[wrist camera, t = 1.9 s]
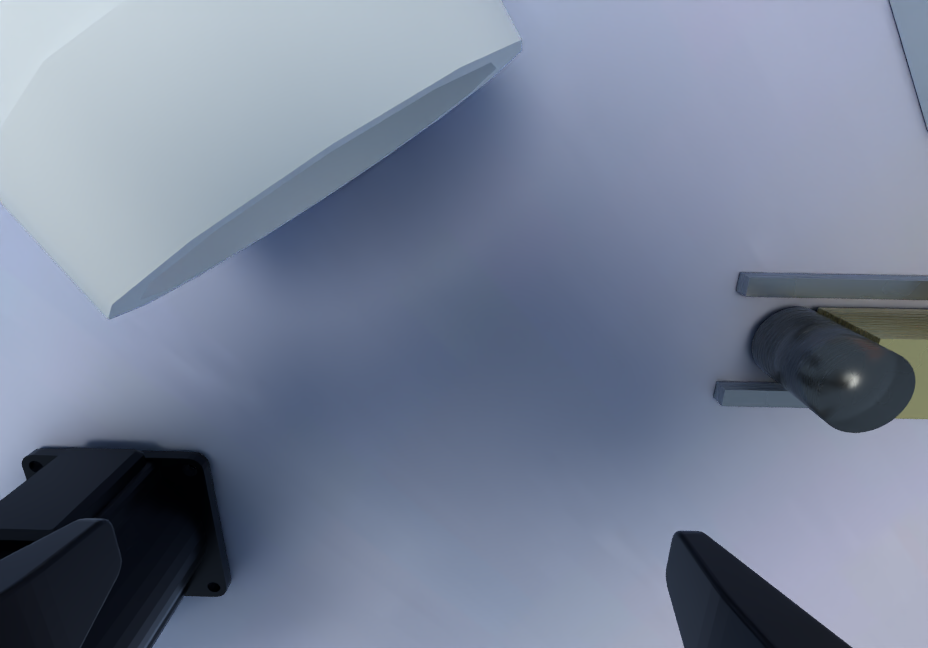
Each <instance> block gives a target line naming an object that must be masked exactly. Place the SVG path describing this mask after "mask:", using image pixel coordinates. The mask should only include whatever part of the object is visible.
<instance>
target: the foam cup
mask: <svg viewBox="0 0 928 648" xmlns="http://www.w3.org/2000/svg"><path fill="white" fill-rule="evenodd" d="M521 51H522V39H521V37H520V36H519V34H518V32H517V30H516V28H515V26H514V24H513V22H512V20H511V18H510V16H509V14H508V12H507V11H506V9H505V7H504V5H503V3H502V1H501V0H0V201H1V203H2V205H3V206H4V208H5V209H6V210H7V211H8V212H9V213H10V214H11V215H12V216H13V217H14V218H15V220H16V221H17V222H18V223H19V224H20V225H21V226H22V227H23V228H24V229H25V230H26V232H27V233H28V234H29V235H30V236H31V237H32V238H33V239H34V240H35V241H36V242H37V244H38V245H39V246H40V247H41V248H42V249H43V250H44V251H45V252H46V253H47V254H48V256H49V257H50V258H51V259H52V260H53V261H54V262H55V263H56V264H57V265H58V266H59V268H60V269H61V270H62V271H63V272H64V273H65V274H66V275H67V276H68V277H69V278H70V280H71V281H72V282H73V283H74V284H75V285H76V286H77V287H78V288H79V289H80V290H81V292H82V293H83V294H84V295H85V296H86V297H87V298H88V299H89V300H90V301H91V302H92V304H93V305H94V306H95V307H96V308H97V309H98V310H99V311H100V312H101V313H102V314H103V316H104V317H105V318H106V319H107V320H110V319H112V318H115V317H117V316H119V315H122V314H124V313H127V312H129V311H132V310H134V309H137V308H139V307H142V306H144V305H147V304H149V303H150V302H152V301H154V300H156V299H158V298H160V297H161V296H163V295H165V294H167V293H169V292H171V291H172V290H174V289H176V288H178V287H180V286H182V285H183V284H185V283H187V282H189V281H191V280H193V279H194V278H196V277H198V276H200V275H202V274H203V273H205V272H207V271H208V270H210V269H212V268H213V267H215V266H217V265H218V264H220V263H222V262H223V261H225V260H227V259H228V258H230V257H232V256H233V255H235V254H237V253H238V252H240V251H242V250H243V249H245V248H247V247H248V246H250V245H252V244H253V243H255V242H257V241H258V240H260V239H262V238H263V237H265V236H267V235H268V234H270V233H271V232H273V231H274V230H276V229H277V228H279V227H281V226H282V225H284V224H285V223H287V222H288V221H290V220H292V219H293V218H295V217H296V216H298V215H299V214H301V213H303V212H304V211H306V210H307V209H309V208H310V207H312V206H313V205H315V204H317V203H318V202H320V201H321V200H323V199H324V198H326V197H327V196H329V195H330V194H332V193H333V192H335V191H336V190H338V189H339V188H341V187H342V186H344V185H345V184H347V183H348V182H350V181H351V180H353V179H354V178H356V177H357V176H359V175H360V174H362V173H363V172H365V171H366V170H368V169H369V168H371V167H372V166H374V165H375V164H377V163H378V162H379V161H381V160H382V159H384V158H385V157H387V156H388V155H390V154H391V153H392V152H394V151H395V150H397V149H398V148H399V147H401V146H402V145H404V144H405V143H406V142H408V141H409V140H411V139H412V138H414V137H415V136H416V135H418V134H419V133H421V132H422V131H423V130H425V129H426V128H428V127H429V126H430V125H432V124H433V123H435V122H436V121H437V120H439V119H440V118H442V117H443V116H444V115H445V114H447V113H448V112H449V111H451V110H452V109H453V108H455V107H456V106H457V105H458V104H460V103H461V102H462V101H464V100H465V99H466V98H468V97H469V96H470V95H471V94H473V93H474V92H475V91H477V90H478V89H479V88H481V87H482V86H483V85H485V84H486V83H487V82H488V81H490V80H491V79H492V78H493V77H494V76H495V75H496V74H497V73H498V72H500V71H501V70H502V69H503V68H504V67H505V66H506V65H507V64H508V63H509V62H510V61H512V60H513V59H514V58H515V57H516V56H517V55H518V54H519V53H520V52H521Z"/></svg>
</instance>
